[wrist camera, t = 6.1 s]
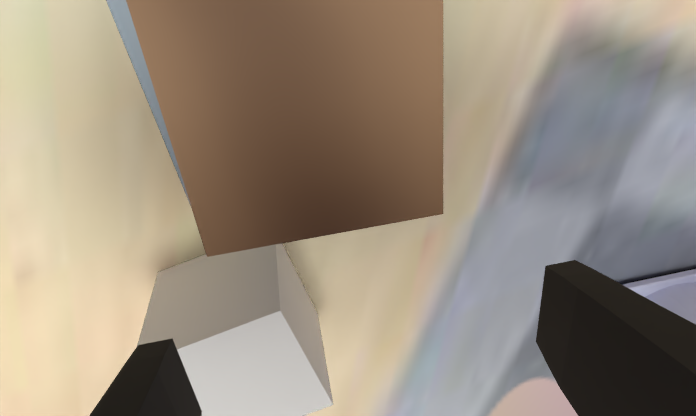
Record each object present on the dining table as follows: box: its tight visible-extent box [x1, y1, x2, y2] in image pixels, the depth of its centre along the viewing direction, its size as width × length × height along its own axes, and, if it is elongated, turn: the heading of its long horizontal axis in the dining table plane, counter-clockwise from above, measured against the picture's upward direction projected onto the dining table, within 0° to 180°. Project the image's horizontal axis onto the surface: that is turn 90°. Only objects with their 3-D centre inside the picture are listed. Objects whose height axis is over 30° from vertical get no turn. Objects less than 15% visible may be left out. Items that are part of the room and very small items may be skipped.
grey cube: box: [137, 243, 333, 416], centre depth 18 cm, size 5×5×5 cm
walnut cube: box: [126, 0, 443, 257], centre depth 11 cm, size 5×5×5 cm
